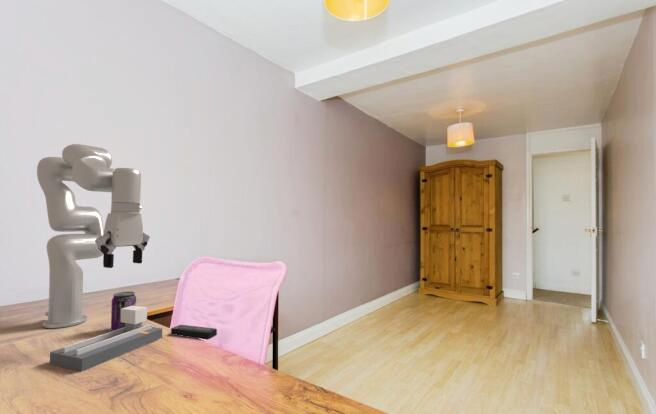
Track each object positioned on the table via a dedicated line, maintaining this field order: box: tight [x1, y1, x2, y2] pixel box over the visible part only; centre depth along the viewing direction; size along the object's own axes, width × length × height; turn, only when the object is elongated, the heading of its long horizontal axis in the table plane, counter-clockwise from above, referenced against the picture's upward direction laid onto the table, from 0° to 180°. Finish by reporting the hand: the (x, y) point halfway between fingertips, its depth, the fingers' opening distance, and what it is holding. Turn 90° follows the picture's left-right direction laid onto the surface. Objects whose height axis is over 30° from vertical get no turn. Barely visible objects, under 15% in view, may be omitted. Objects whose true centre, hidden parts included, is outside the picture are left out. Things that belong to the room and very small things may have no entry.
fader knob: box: [121, 305, 148, 332], centre depth 101 cm, size 6×4×7 cm, turn 70°
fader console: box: [49, 323, 163, 372], centre depth 95 cm, size 12×24×4 cm, turn 160°
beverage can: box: [110, 291, 137, 331], centre depth 112 cm, size 7×7×12 cm
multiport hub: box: [170, 324, 218, 340], centre depth 107 cm, size 4×14×2 cm, turn 72°
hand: (123, 265), depth 102 cm, fingers open, 9 cm apart
